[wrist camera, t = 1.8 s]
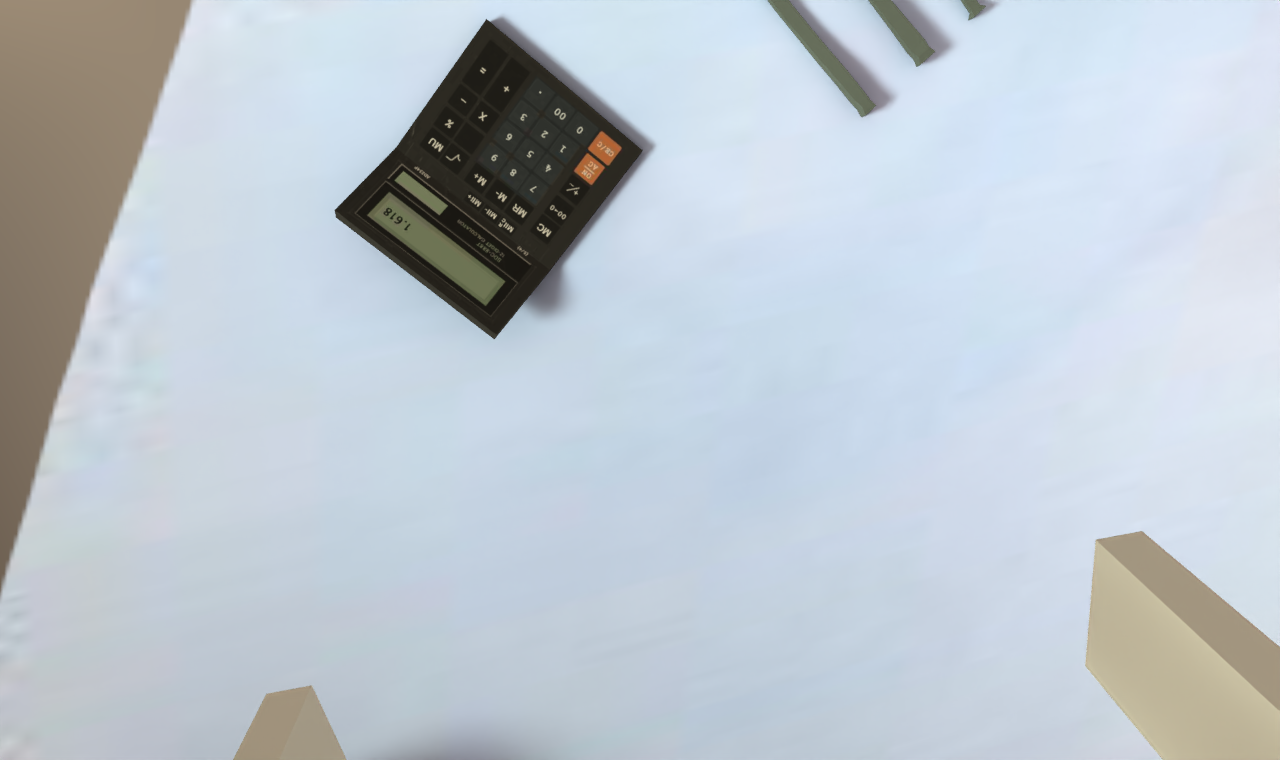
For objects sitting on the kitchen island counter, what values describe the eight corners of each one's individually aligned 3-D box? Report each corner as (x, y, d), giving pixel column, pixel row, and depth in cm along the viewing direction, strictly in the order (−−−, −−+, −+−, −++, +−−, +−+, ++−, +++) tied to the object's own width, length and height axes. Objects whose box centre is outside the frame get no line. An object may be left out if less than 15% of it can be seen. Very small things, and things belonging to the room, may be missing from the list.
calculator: (642, 151, 37) (642, 146, 34) (502, 332, 39) (491, 341, 36) (490, 23, 36) (476, 6, 33) (353, 216, 38) (329, 217, 35)
